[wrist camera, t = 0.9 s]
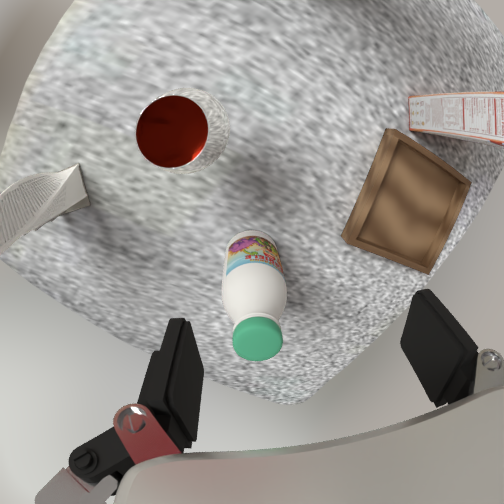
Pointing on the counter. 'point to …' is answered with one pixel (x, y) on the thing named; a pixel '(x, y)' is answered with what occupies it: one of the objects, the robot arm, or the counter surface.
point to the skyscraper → (39, 202)
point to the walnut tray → (406, 204)
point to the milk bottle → (254, 294)
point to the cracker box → (460, 116)
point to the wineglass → (183, 131)
